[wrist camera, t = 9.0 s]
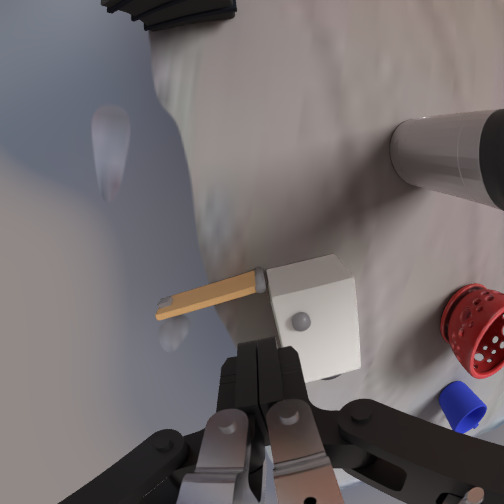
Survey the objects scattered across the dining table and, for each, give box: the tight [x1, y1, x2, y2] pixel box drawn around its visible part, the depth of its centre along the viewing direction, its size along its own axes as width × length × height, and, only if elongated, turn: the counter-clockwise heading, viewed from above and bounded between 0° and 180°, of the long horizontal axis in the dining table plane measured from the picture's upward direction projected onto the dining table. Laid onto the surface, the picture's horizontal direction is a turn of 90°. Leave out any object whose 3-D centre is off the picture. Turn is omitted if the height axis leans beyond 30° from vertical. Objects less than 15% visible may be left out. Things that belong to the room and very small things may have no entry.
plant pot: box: [440, 283, 504, 379], centre depth 37 cm, size 13×13×12 cm
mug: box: [439, 381, 487, 434], centre depth 44 cm, size 8×12×10 cm
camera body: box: [266, 254, 361, 383], centre depth 37 cm, size 9×15×9 cm, turn 13°
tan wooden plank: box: [155, 267, 266, 320], centre depth 37 cm, size 2×14×5 cm, turn 108°
